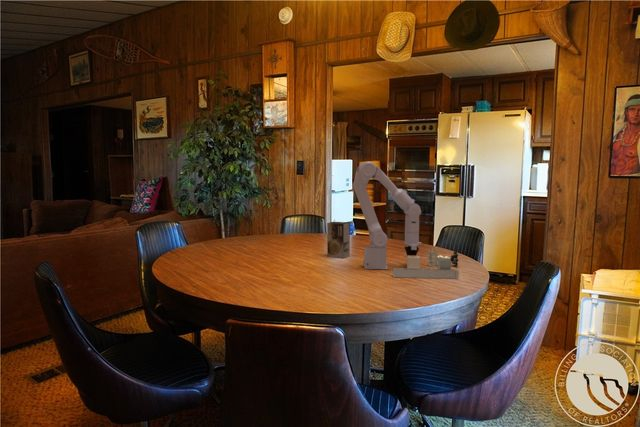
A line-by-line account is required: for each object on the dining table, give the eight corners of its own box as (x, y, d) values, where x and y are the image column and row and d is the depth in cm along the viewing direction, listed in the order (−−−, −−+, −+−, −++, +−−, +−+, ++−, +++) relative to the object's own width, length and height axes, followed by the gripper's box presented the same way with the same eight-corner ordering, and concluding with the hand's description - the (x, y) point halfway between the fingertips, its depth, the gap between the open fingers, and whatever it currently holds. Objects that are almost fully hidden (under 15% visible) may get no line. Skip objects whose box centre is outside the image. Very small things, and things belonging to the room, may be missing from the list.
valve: (428, 267, 178) (458, 268, 177) (429, 251, 178) (458, 252, 176) (426, 264, 185) (454, 264, 183) (427, 249, 184) (455, 249, 183)
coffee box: (350, 256, 201) (350, 222, 199) (343, 258, 195) (343, 223, 194) (333, 254, 206) (333, 221, 204) (326, 256, 200) (326, 222, 199)
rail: (393, 277, 160) (393, 262, 160) (391, 272, 169) (391, 257, 168) (458, 279, 158) (459, 263, 158) (453, 273, 167) (453, 258, 166)
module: (409, 273, 167) (409, 258, 166) (406, 269, 173) (407, 254, 173) (420, 274, 166) (421, 258, 166) (418, 270, 173) (418, 255, 172)
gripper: (424, 234, 169) (423, 268, 170) (418, 229, 183) (418, 260, 184) (406, 234, 169) (405, 267, 171) (402, 229, 184) (401, 260, 185)
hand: (411, 264), depth 178 cm, fingers closed
